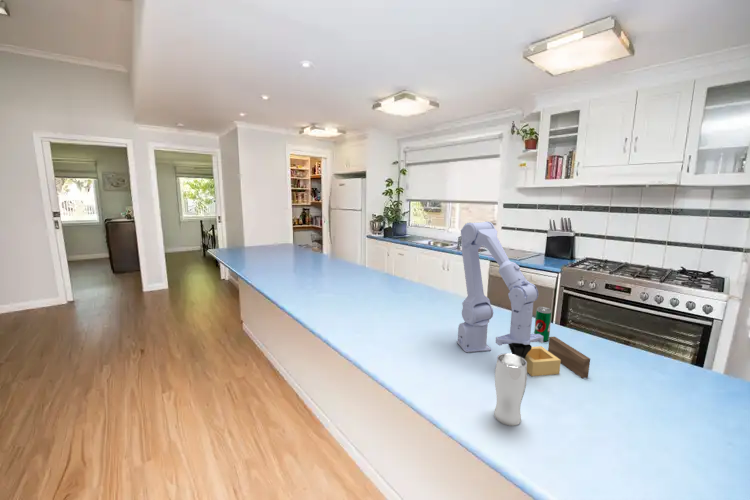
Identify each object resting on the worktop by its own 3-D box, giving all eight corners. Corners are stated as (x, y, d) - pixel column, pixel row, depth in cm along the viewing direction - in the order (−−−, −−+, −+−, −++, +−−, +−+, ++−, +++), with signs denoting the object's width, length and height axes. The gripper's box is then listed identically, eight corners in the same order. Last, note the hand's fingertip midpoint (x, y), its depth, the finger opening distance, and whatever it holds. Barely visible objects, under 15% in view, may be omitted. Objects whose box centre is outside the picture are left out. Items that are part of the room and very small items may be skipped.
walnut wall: (581, 378, 95) (584, 359, 94) (547, 353, 110) (549, 336, 109) (587, 377, 95) (590, 358, 94) (553, 353, 110) (554, 336, 109)
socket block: (531, 376, 96) (533, 362, 95) (514, 361, 105) (515, 348, 104) (559, 373, 97) (560, 360, 97) (540, 359, 106) (541, 346, 105)
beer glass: (487, 408, 82) (491, 353, 79) (513, 407, 82) (518, 352, 80) (500, 428, 75) (504, 368, 72) (528, 426, 75) (534, 367, 73)
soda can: (550, 342, 118) (553, 311, 116) (535, 341, 119) (538, 310, 117) (546, 336, 123) (549, 306, 121) (532, 335, 124) (534, 305, 122)
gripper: (505, 329, 93) (502, 373, 95) (551, 327, 95) (547, 369, 97) (493, 320, 99) (490, 361, 102) (536, 317, 102) (533, 358, 104)
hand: (517, 364), depth 100 cm, fingers closed
